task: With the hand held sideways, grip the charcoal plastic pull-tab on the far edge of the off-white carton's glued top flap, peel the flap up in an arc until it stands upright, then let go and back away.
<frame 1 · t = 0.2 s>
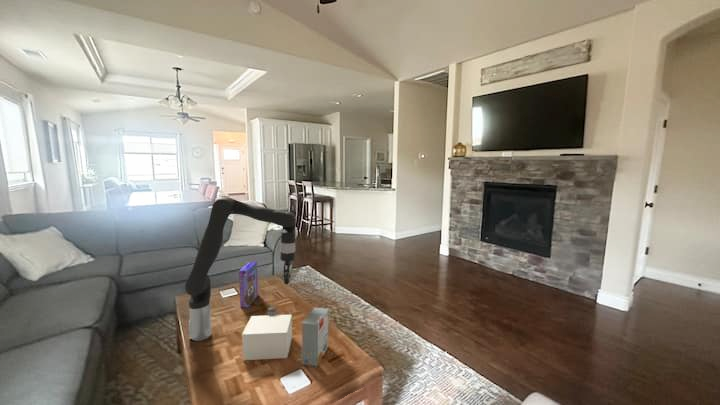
hand: (287, 280, 150), 29 cm above the table, tool pointing down, fingers open, 8 cm apart
hard drive box: (315, 355, 136), on the table
cereal box: (249, 301, 189), on the table
flap: (268, 319, 140), point 14 cm above the table, hinge at 0.0°
carton: (269, 348, 140), on the table
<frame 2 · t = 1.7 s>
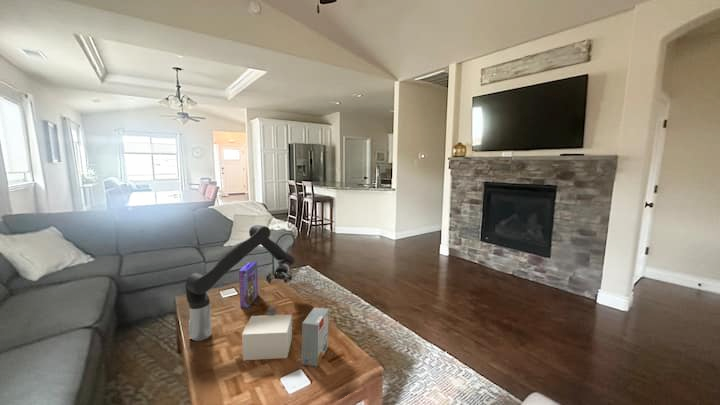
hand: (277, 281, 162), 24 cm above the table, tool horizontal, fingers open, 8 cm apart
nothing on the table moved.
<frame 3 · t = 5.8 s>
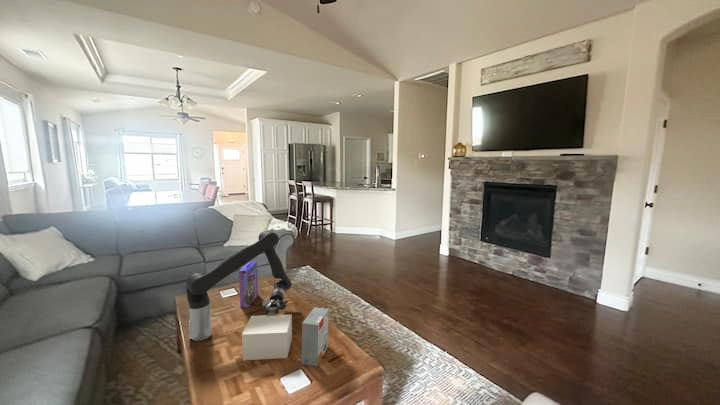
hand: (271, 312, 146), 14 cm above the table, tool horizontal, fingers closed on flap, 4 cm apart
flap: (268, 319, 140), point 14 cm above the table, hinge at 0.0°, touching gripper
everything else where it was.
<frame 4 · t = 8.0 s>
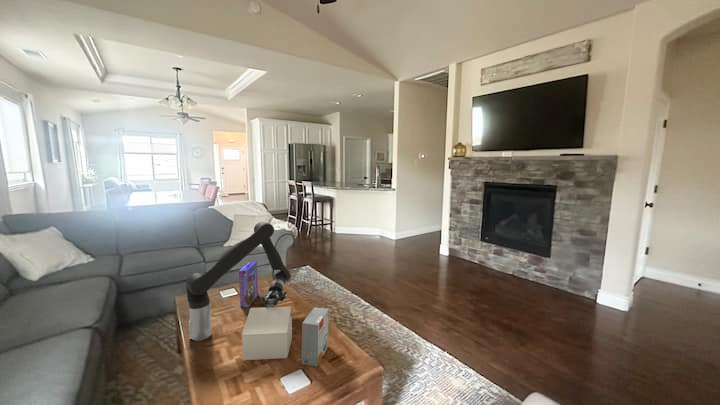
hand: (270, 303, 144), 20 cm above the table, tool horizontal, fingers closed on flap, 4 cm apart
flap: (268, 315, 139), point 17 cm above the table, hinge at 18.1°, touching gripper
everything else where it was.
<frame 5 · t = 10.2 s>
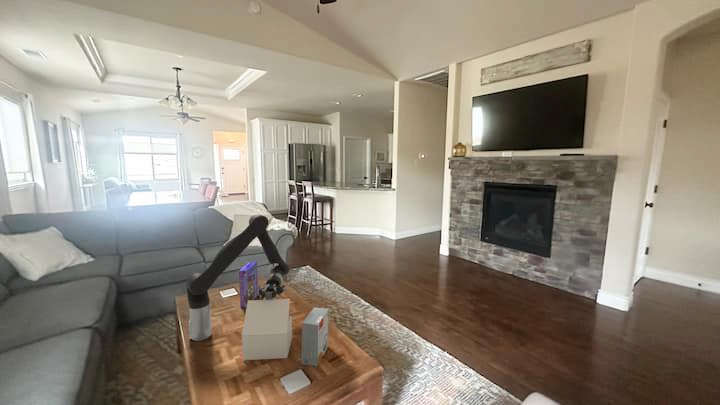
hand: (267, 296, 138), 26 cm above the table, tool horizontal, fingers closed on flap, 4 cm apart
flap: (266, 312, 136), point 20 cm above the table, hinge at 43.2°, touching gripper
everything else where it was.
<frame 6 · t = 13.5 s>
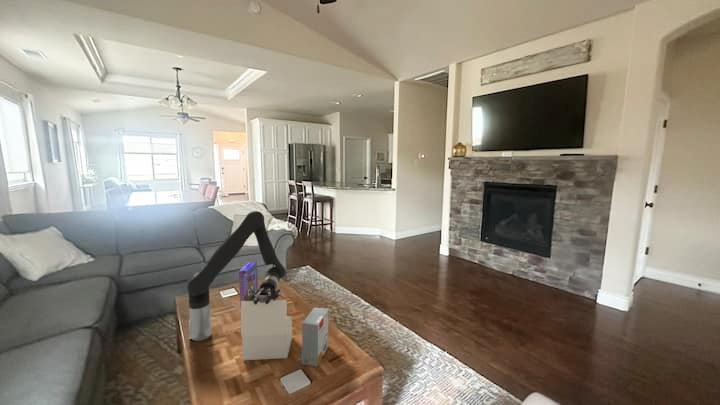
hand: (261, 302, 124), 30 cm above the table, tool horizontal, fingers closed on flap, 4 cm apart
flap: (263, 316, 129), point 22 cm above the table, hinge at 85.1°, touching gripper
everything else where it was.
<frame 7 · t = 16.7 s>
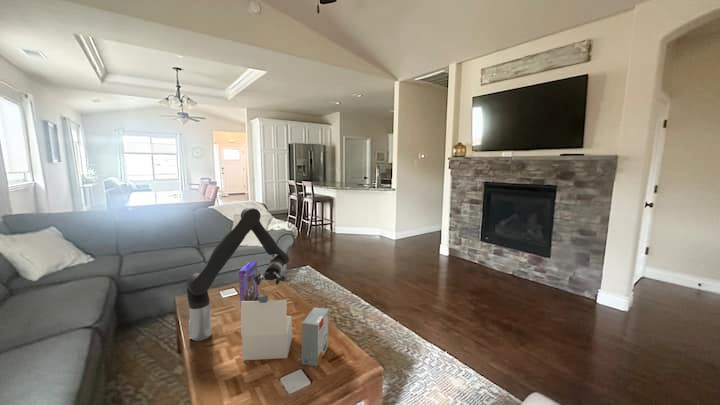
hand: (267, 283, 137), 33 cm above the table, tool horizontal, fingers open, 8 cm apart
flap: (263, 316, 129), point 22 cm above the table, hinge at 85.3°
everything else where it was.
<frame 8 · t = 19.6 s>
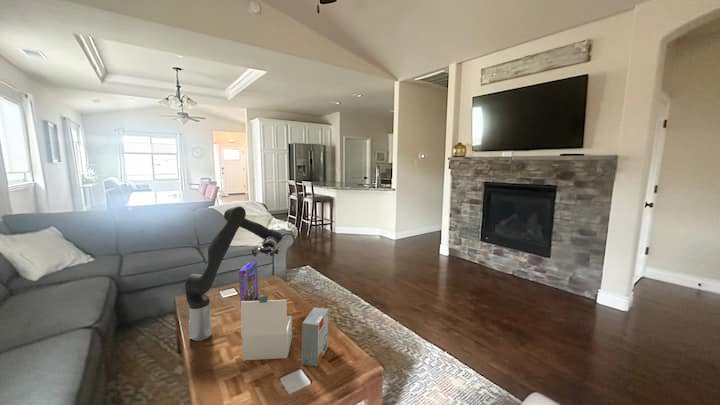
hand: (262, 254, 157), 40 cm above the table, tool horizontal, fingers open, 8 cm apart
nothing on the table moved.
at the end: flap at +85° (first picture: +0°); the gripper is holding nothing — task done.
